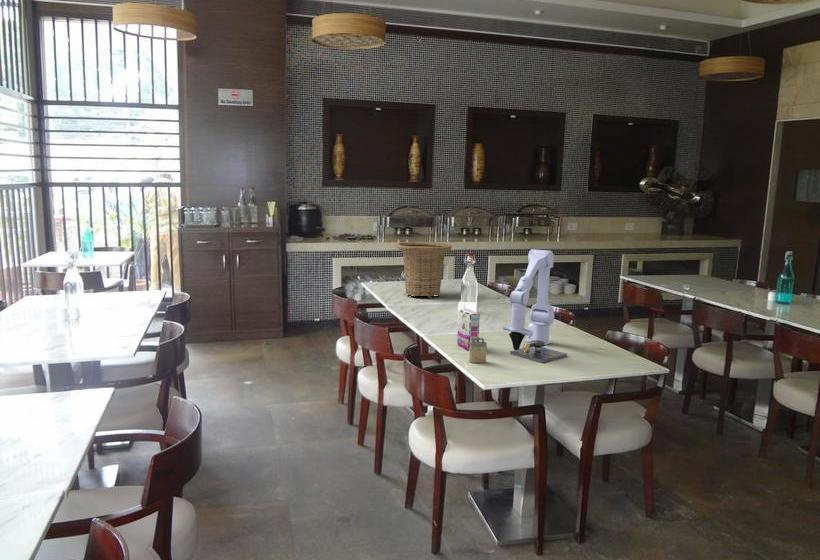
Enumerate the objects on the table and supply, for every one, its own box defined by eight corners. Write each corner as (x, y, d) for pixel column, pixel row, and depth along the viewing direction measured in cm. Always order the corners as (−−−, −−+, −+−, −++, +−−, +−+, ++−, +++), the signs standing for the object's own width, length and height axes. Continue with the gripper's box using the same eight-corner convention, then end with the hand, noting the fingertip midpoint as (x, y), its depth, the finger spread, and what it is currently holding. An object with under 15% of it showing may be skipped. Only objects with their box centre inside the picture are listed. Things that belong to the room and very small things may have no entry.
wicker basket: (425, 303, 372) (427, 248, 367) (384, 295, 395) (385, 243, 390) (460, 296, 398) (463, 245, 393) (419, 289, 421) (421, 240, 416)
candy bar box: (478, 350, 270) (480, 313, 267) (468, 351, 268) (470, 314, 265) (466, 344, 280) (468, 308, 277) (456, 344, 278) (458, 309, 275)
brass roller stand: (535, 347, 270) (536, 339, 269) (547, 350, 266) (547, 342, 265) (518, 351, 262) (519, 343, 262) (530, 354, 258) (530, 346, 257)
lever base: (510, 353, 265) (510, 345, 265) (534, 347, 276) (535, 340, 276) (542, 363, 252) (542, 354, 252) (566, 356, 264) (567, 348, 263)
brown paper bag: (484, 360, 254) (485, 336, 253) (487, 363, 250) (488, 339, 249) (467, 360, 253) (468, 337, 252) (470, 363, 249) (471, 339, 248)
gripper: (498, 316, 266) (497, 347, 268) (525, 322, 255) (524, 354, 257) (509, 314, 270) (507, 344, 272) (536, 320, 259) (534, 352, 262)
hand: (516, 349), depth 265 cm, fingers closed
